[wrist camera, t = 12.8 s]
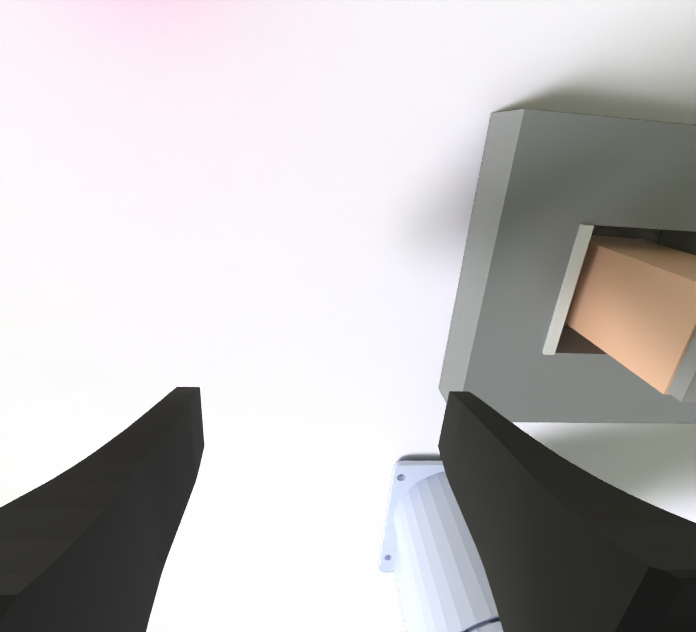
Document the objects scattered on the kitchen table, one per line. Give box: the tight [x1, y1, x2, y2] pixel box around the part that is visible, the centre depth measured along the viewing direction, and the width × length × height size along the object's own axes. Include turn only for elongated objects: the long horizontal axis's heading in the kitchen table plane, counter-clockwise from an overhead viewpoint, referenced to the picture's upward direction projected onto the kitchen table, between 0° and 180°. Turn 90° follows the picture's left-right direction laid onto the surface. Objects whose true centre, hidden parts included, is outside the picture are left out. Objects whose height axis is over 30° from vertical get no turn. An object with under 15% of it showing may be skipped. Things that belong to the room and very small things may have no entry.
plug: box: [564, 235, 696, 402], centre depth 17 cm, size 4×4×9 cm
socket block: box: [439, 109, 696, 423], centre depth 20 cm, size 14×14×3 cm
